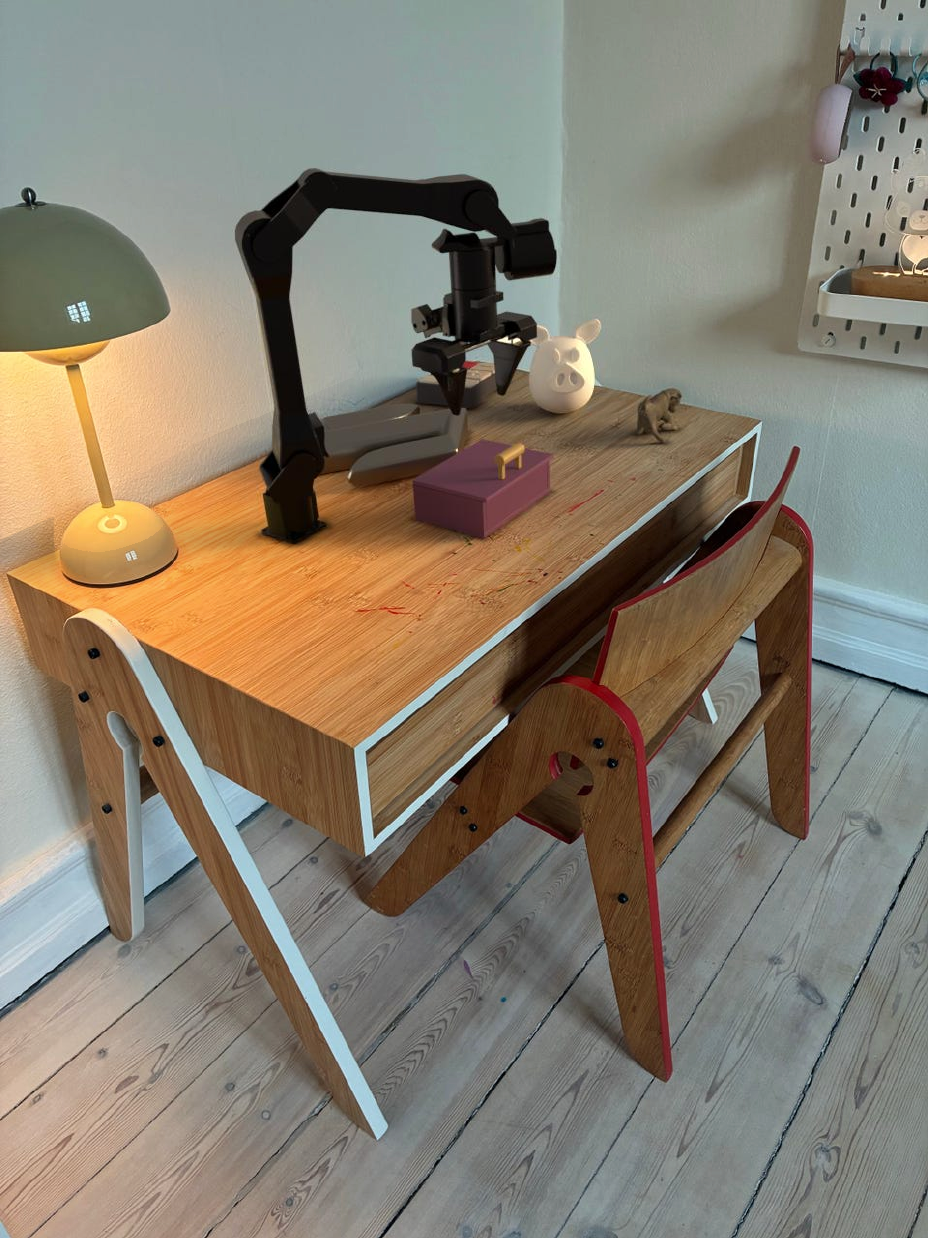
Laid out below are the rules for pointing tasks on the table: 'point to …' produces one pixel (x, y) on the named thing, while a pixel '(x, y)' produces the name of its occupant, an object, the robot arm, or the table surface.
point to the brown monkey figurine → (658, 412)
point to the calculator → (476, 386)
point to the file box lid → (483, 470)
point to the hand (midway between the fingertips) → (479, 404)
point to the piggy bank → (563, 368)
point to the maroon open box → (480, 505)
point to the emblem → (391, 442)
